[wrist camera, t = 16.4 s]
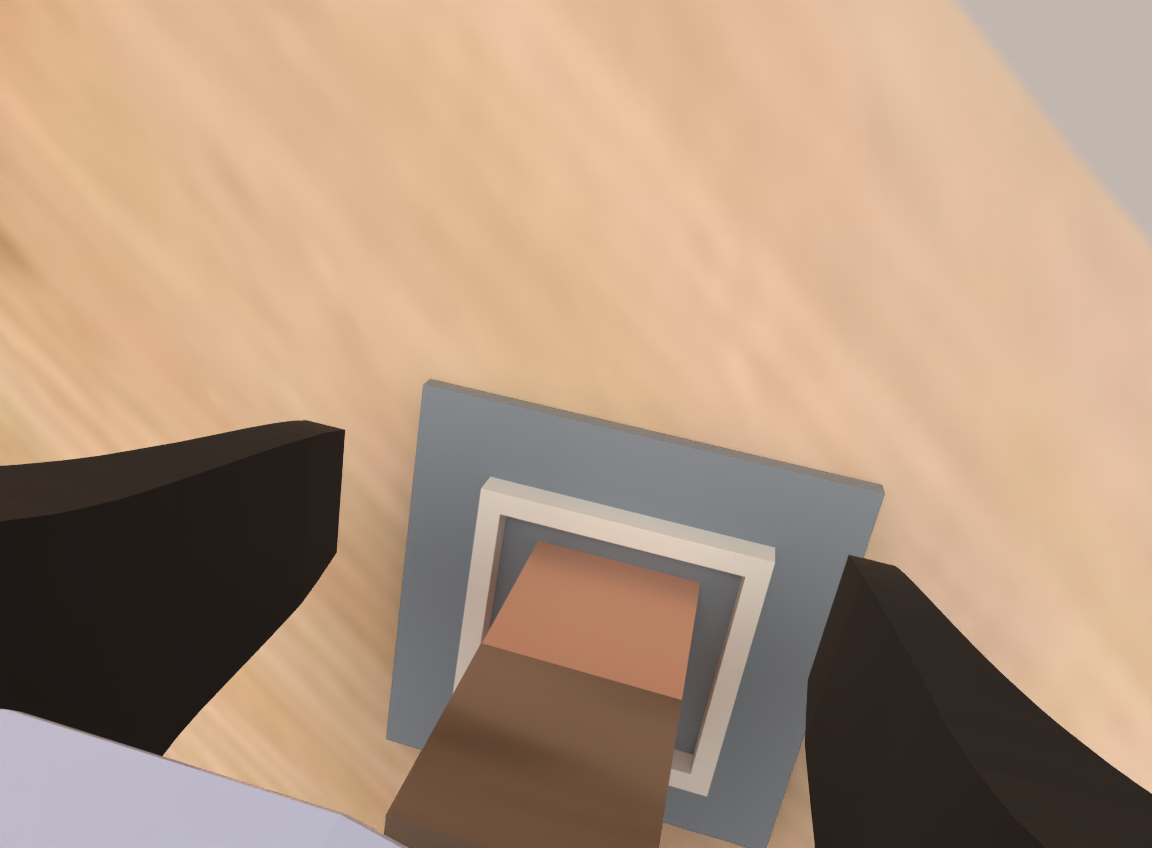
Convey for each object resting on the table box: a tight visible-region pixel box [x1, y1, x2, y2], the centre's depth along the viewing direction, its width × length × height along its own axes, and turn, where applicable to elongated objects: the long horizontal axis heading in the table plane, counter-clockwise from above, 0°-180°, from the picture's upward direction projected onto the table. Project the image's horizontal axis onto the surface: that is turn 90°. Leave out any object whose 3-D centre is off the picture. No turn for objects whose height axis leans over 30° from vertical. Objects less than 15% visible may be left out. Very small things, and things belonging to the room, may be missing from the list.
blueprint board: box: [386, 379, 885, 848], centre depth 24 cm, size 12×12×1 cm
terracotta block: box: [482, 541, 700, 700], centre depth 22 cm, size 4×4×5 cm
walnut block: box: [384, 643, 682, 848], centre depth 17 cm, size 4×4×5 cm
